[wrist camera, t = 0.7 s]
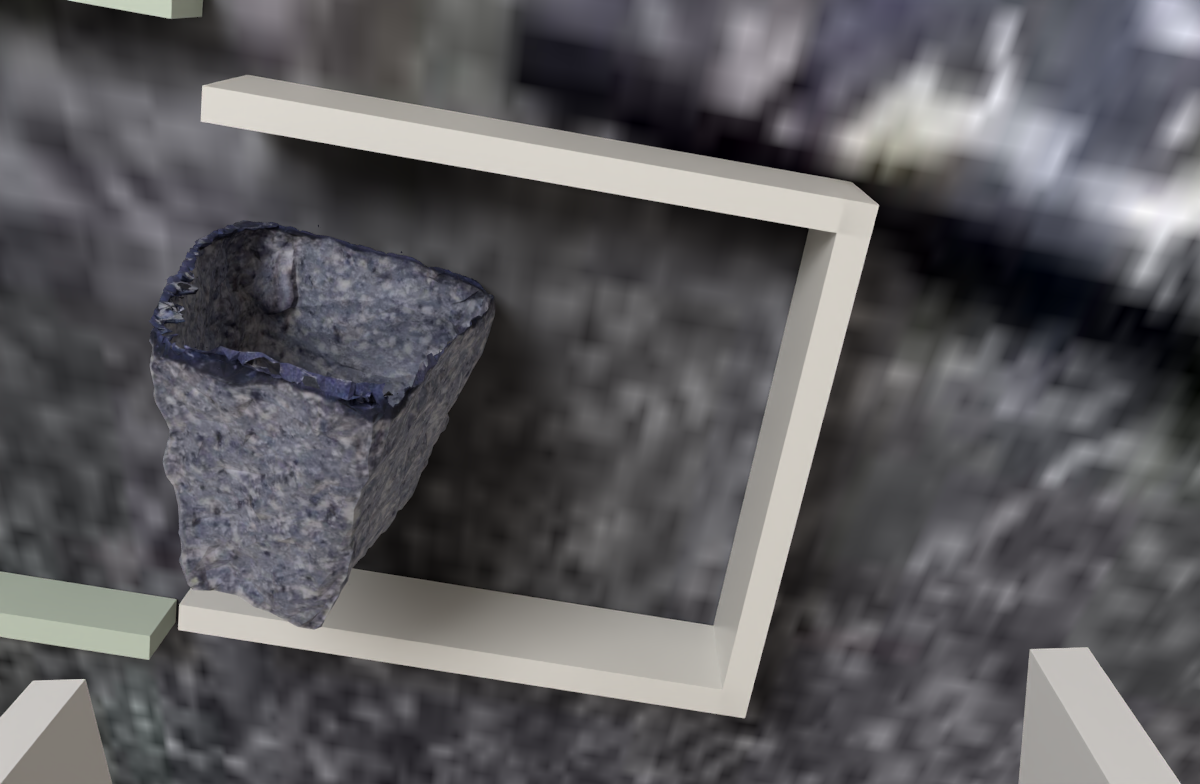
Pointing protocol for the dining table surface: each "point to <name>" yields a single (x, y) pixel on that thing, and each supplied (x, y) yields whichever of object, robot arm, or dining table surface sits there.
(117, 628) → the pale green u-shaped frame
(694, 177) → the frame
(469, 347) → the stone
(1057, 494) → the dining table surface
